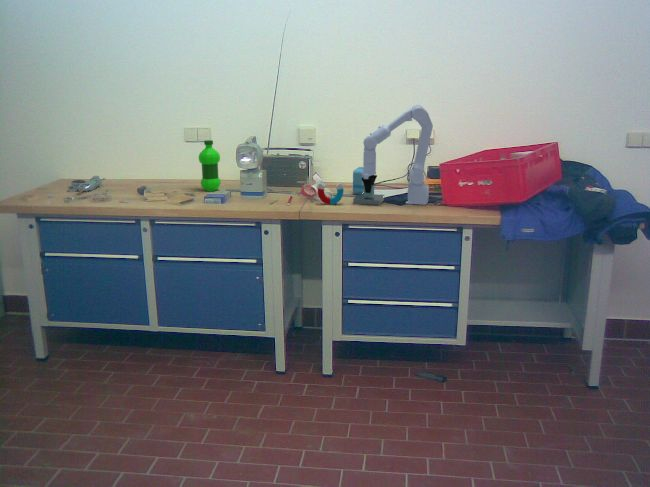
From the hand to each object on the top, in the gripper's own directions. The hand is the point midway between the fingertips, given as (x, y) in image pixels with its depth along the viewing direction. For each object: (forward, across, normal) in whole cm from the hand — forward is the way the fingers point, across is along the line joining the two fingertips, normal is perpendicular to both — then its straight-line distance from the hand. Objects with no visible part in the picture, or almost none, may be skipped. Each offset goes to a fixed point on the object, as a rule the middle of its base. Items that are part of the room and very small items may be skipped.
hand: (369, 191), depth 302 cm
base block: (+5, 0, 0) cm, 5 cm away
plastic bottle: (+5, -4, -83) cm, 83 cm away
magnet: (+5, +9, -16) cm, 19 cm away
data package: (+5, -20, -9) cm, 23 cm away
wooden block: (+2, 0, 0) cm, 2 cm away
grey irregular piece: (+6, +14, -148) cm, 148 cm away
